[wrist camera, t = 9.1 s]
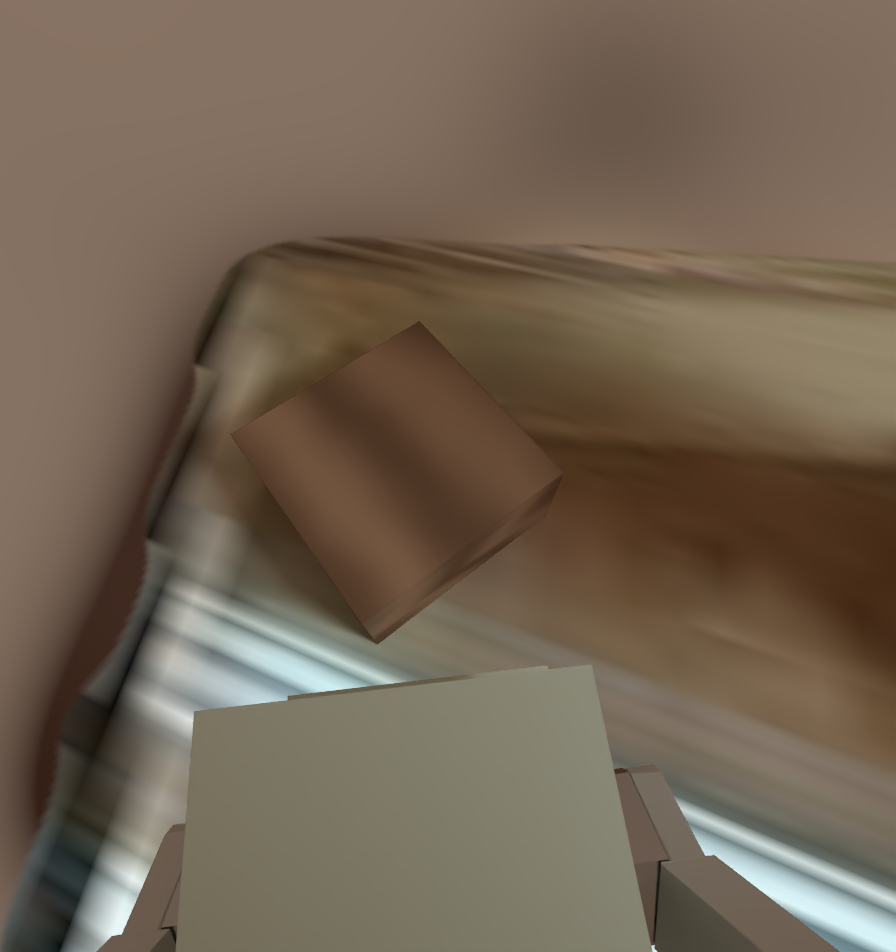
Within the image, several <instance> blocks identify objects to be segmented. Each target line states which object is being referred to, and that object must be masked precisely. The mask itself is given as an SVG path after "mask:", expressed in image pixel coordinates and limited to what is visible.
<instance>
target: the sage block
mask: <svg viewBox="0 0 896 952" xmlns="http://www.w3.org/2000/svg"><path fill="white" fill-rule="evenodd" d="M176 952H652V948H651V943H650V938H649V933H648V929H647V924H646V919H645V915H644V910H643V905H642V900H641V896H640V891H639V886H638V881H637V877H636V872H635V867H634V863H633V858H632V853H631V848H630V844H629V839H628V834H627V830H626V825H625V820H624V815H623V811H622V806H621V801H620V796H619V792H618V787H617V782H616V778H615V773H614V768H613V763H612V759H611V754H610V749H609V744H608V740H607V735H606V730H605V726H604V721H603V716H602V711H601V707H600V702H599V697H598V693H597V688H596V683H595V678H594V674H593V669H592V664H591V665H582V666H574V667H565V668H557V669H549V670H548V665H547V666H538V667H530V668H521V669H513V670H504V671H496V672H487V673H479V674H470V675H462V676H454V677H445V678H437V679H428V680H420V681H411V682H403V683H394V684H386V685H377V686H369V687H360V688H352V689H343V690H335V691H326V692H318V693H310V694H301V695H293V696H288V700H287V701H278V702H270V703H261V704H253V705H245V706H236V707H228V708H219V709H211V710H202V711H194V722H193V735H192V748H191V761H190V773H189V786H188V799H187V812H186V825H185V837H184V850H183V863H182V876H181V888H180V901H179V914H178V927H177V940H176Z"/></svg>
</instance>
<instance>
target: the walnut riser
mask: <svg viewBox="0 0 896 952" xmlns="http://www.w3.org/2000/svg"><path fill="white" fill-rule="evenodd" d="M230 435H231V436H232V438H233V439H234V441H235V442H236V444H237V445H238V446H239V448H240V449H241V451H242V452H243V454H244V455H245V457H246V458H247V459H248V461H249V462H250V464H251V465H252V467H253V468H254V469H255V471H256V472H257V474H258V475H259V477H260V478H261V480H262V481H263V482H264V484H265V485H266V487H267V488H268V490H269V491H270V493H271V494H272V495H273V497H274V498H275V500H276V501H277V503H278V504H279V505H280V507H281V508H282V510H283V511H284V513H285V514H286V516H287V517H288V518H289V520H290V521H291V523H292V524H293V526H294V527H295V529H296V530H297V531H298V533H299V534H300V536H301V537H302V539H303V540H304V541H305V543H306V544H307V546H308V547H309V549H310V550H311V552H312V553H313V554H314V556H315V557H316V559H317V560H318V562H319V563H320V565H321V566H322V567H323V569H324V570H325V572H326V573H327V575H328V576H329V577H330V579H331V580H332V582H333V583H334V585H335V586H336V588H337V589H338V590H339V592H340V593H341V595H342V596H343V598H344V599H345V601H346V602H347V603H348V605H349V606H350V608H351V609H352V611H353V612H354V613H355V615H356V616H357V618H358V619H359V621H360V622H361V624H362V625H363V626H364V627H365V629H366V630H367V631H368V633H369V634H370V635H371V637H372V638H373V639H374V641H375V642H376V643H377V644H379V643H380V642H381V641H383V640H384V639H385V638H386V637H388V636H389V635H390V634H392V633H393V632H394V631H396V630H397V629H398V628H399V627H401V626H402V625H403V624H405V623H406V622H407V621H409V620H410V619H411V618H412V617H414V616H415V615H416V614H418V613H419V612H420V611H422V610H423V609H424V608H426V607H427V606H428V605H429V604H431V603H432V602H433V601H435V600H436V599H437V598H439V597H440V596H441V595H442V594H444V593H445V592H446V591H448V590H449V589H450V588H452V587H453V586H454V585H455V584H457V583H458V582H459V581H461V580H462V579H463V578H465V577H466V576H467V575H469V574H470V573H471V572H472V571H474V570H475V569H476V568H478V567H479V566H480V565H482V564H483V563H484V562H485V561H487V560H488V559H489V558H491V557H492V556H493V555H495V554H496V553H497V552H498V551H500V550H501V549H502V548H504V547H505V546H506V545H508V544H509V543H510V542H512V541H513V540H514V539H515V538H517V537H518V536H519V535H521V534H522V533H523V532H525V531H526V530H527V529H528V528H530V527H531V526H532V525H534V524H535V523H536V522H538V521H539V520H540V519H541V518H543V517H544V516H545V515H546V512H547V510H548V508H549V505H550V503H551V501H552V499H553V496H554V494H555V492H556V489H557V487H558V485H559V483H560V480H561V478H562V476H563V473H564V472H563V471H562V470H561V469H560V468H559V466H558V465H557V464H556V463H555V462H554V461H553V460H552V459H551V458H550V457H549V456H548V455H547V454H546V453H545V452H544V451H543V450H542V449H541V448H540V447H539V446H538V445H537V444H536V442H535V441H534V440H533V439H532V438H531V437H530V436H529V435H528V434H527V433H526V432H525V431H524V430H523V429H522V428H521V427H520V426H519V425H518V424H517V423H516V422H515V421H514V420H513V419H512V417H511V416H510V415H509V414H508V413H507V412H506V411H505V410H504V409H503V408H502V407H501V406H500V405H499V404H498V403H497V402H496V401H495V400H494V399H493V398H492V397H491V396H490V395H489V393H488V392H487V391H486V390H485V389H484V388H483V387H482V386H481V385H480V384H479V383H478V382H477V381H476V380H475V379H474V378H473V377H472V376H471V375H470V374H469V373H468V372H467V371H466V369H465V368H464V367H463V366H462V365H461V364H460V363H459V362H458V361H457V360H456V359H455V358H454V357H453V356H452V355H451V354H450V353H449V352H448V351H447V350H446V349H445V348H444V347H443V345H442V344H441V343H440V342H439V341H438V340H437V339H436V338H435V337H434V336H433V335H432V334H431V333H430V332H429V331H428V330H427V329H426V328H425V327H424V326H423V325H422V324H421V323H420V321H419V322H417V323H416V324H414V325H412V326H411V327H409V328H407V329H406V330H404V331H402V332H401V333H399V334H397V335H396V336H394V337H392V338H391V339H389V340H387V341H386V342H384V343H382V344H381V345H379V346H377V347H376V348H374V349H372V350H371V351H369V352H367V353H366V354H364V355H362V356H361V357H359V358H357V359H356V360H354V361H352V362H351V363H349V364H347V365H346V366H344V367H342V368H340V369H339V370H337V371H335V372H334V373H332V374H330V375H329V376H327V377H325V378H324V379H322V380H320V381H319V382H317V383H315V384H314V385H312V386H310V387H309V388H307V389H305V390H304V391H302V392H300V393H299V394H297V395H295V396H294V397H292V398H290V399H289V400H287V401H285V402H284V403H282V404H280V405H279V406H277V407H275V408H274V409H272V410H270V411H269V412H267V413H265V414H264V415H262V416H260V417H259V418H257V419H255V420H254V421H252V422H250V423H248V424H247V425H245V426H243V427H242V428H240V429H238V430H237V431H235V432H233V433H232V434H230Z"/></svg>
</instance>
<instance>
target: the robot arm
mask: <svg viewBox="0 0 896 952" xmlns="http://www.w3.org/2000/svg"><path fill="white" fill-rule="evenodd" d="M614 773H615V778H616V782H617V787H618V792H619V796H620V801H621V806H622V811H623V815H624V820H625V825H626V830H627V834H628V839H629V844H630V848H631V853H632V858H633V863H634V867H635V872H636V877H637V881H638V886H639V891H640V896H641V900H642V905H643V910H644V915H645V919H646V924H647V929H648V933H649V938H650V943H651V945H655V949H656V950H657V952H839V951H838V950H837V949H836V948H834V947H833V946H832V945H830V944H829V943H828V942H826V941H825V940H824V939H823V938H821V937H820V936H819V935H817V934H816V933H815V932H813V931H812V930H811V929H810V928H808V927H807V926H806V925H804V924H803V923H802V922H800V921H799V920H798V919H797V918H795V917H794V916H793V915H791V914H790V913H789V912H787V911H786V910H785V909H784V908H782V907H781V906H780V905H778V904H777V903H776V902H774V901H773V900H772V899H771V898H769V897H768V896H767V895H765V894H764V893H763V892H761V891H760V890H759V889H758V888H756V887H755V886H754V885H752V884H751V883H750V882H748V881H747V880H746V879H745V878H743V877H742V876H741V875H739V874H738V873H737V872H735V871H734V870H733V869H732V868H730V867H729V866H728V865H726V864H725V863H724V862H722V861H721V860H720V859H719V858H717V857H716V856H715V855H712V856H705V855H704V853H703V851H702V849H701V847H700V846H699V844H698V842H697V840H696V838H695V836H694V834H693V832H692V830H691V829H690V827H689V825H688V823H687V821H686V819H685V817H684V815H683V813H682V812H681V810H680V808H679V806H678V804H677V802H676V800H675V798H674V796H673V795H672V793H671V791H670V789H669V787H668V785H667V783H666V781H665V779H664V778H663V776H662V774H661V772H660V770H659V769H658V768H657V767H656V766H655V765H646V766H638V767H631V768H625V769H623V768H619V769H614ZM185 825H186V823H185V824H176V825H173V826H172V827H171V828H170V830H169V831H168V832H167V833H166V835H165V836H164V839H163V841H162V843H161V845H160V848H159V850H158V852H157V855H156V857H155V859H154V862H153V864H152V866H151V869H150V871H149V873H148V875H147V878H146V880H145V882H144V885H143V887H142V889H141V892H140V894H139V896H138V898H137V901H136V903H135V905H134V908H133V910H132V912H131V915H130V917H129V919H128V922H127V924H126V926H125V928H124V931H123V933H122V935H116V936H112V937H111V938H110V939H109V940H108V941H107V942H106V943H105V944H104V945H103V946H102V947H101V948H100V949H99V950H98V951H97V952H176V940H177V927H178V914H179V901H180V888H181V876H182V863H183V850H184V837H185Z"/></svg>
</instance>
